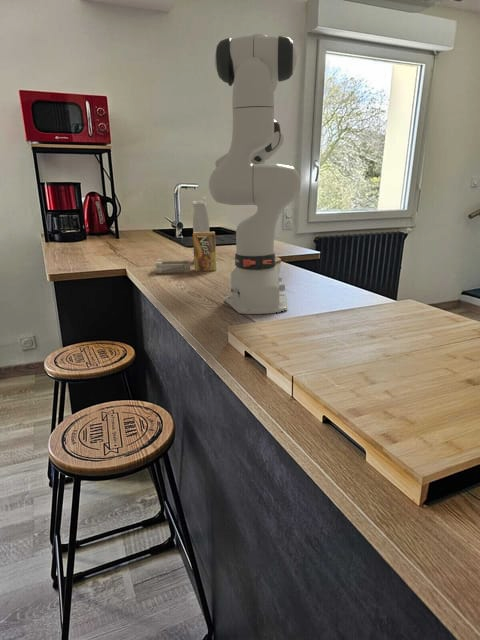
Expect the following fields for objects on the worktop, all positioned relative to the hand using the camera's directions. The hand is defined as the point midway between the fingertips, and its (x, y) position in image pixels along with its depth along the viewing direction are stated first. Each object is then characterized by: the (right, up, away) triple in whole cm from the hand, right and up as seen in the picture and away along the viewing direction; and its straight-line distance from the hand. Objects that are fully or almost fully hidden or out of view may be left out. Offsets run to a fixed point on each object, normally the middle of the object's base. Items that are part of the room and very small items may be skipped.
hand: (223, 182), depth 157 cm
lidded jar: (+16, -37, -2) cm, 40 cm away
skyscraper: (-11, -24, +37) cm, 45 cm away
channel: (-21, -31, +15) cm, 41 cm away
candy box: (-8, -31, +17) cm, 36 cm away
